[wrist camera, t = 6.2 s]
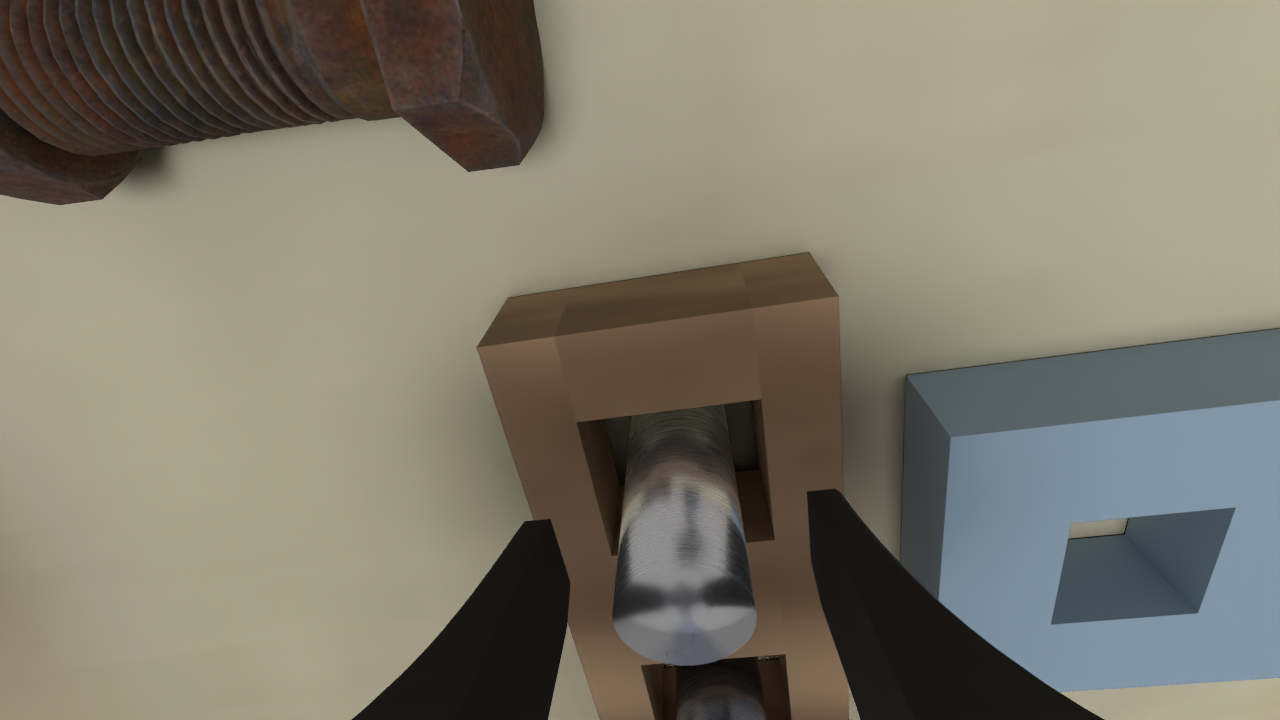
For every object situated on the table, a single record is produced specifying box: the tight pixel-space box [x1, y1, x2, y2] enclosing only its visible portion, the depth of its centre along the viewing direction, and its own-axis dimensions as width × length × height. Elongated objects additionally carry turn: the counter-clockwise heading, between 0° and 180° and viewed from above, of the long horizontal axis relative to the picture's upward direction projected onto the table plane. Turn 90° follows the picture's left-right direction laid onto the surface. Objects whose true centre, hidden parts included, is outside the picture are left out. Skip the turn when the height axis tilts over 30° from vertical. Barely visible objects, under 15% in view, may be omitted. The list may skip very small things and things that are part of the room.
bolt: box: [0, 0, 544, 205], centre depth 12 cm, size 6×5×15 cm
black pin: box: [676, 656, 767, 720], centre depth 19 cm, size 3×3×6 cm
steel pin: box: [612, 404, 757, 666], centre depth 15 cm, size 3×3×7 cm
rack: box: [477, 253, 849, 720], centre depth 19 cm, size 18×8×3 cm, turn 10°
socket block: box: [900, 329, 1280, 692], centre depth 17 cm, size 10×10×3 cm
